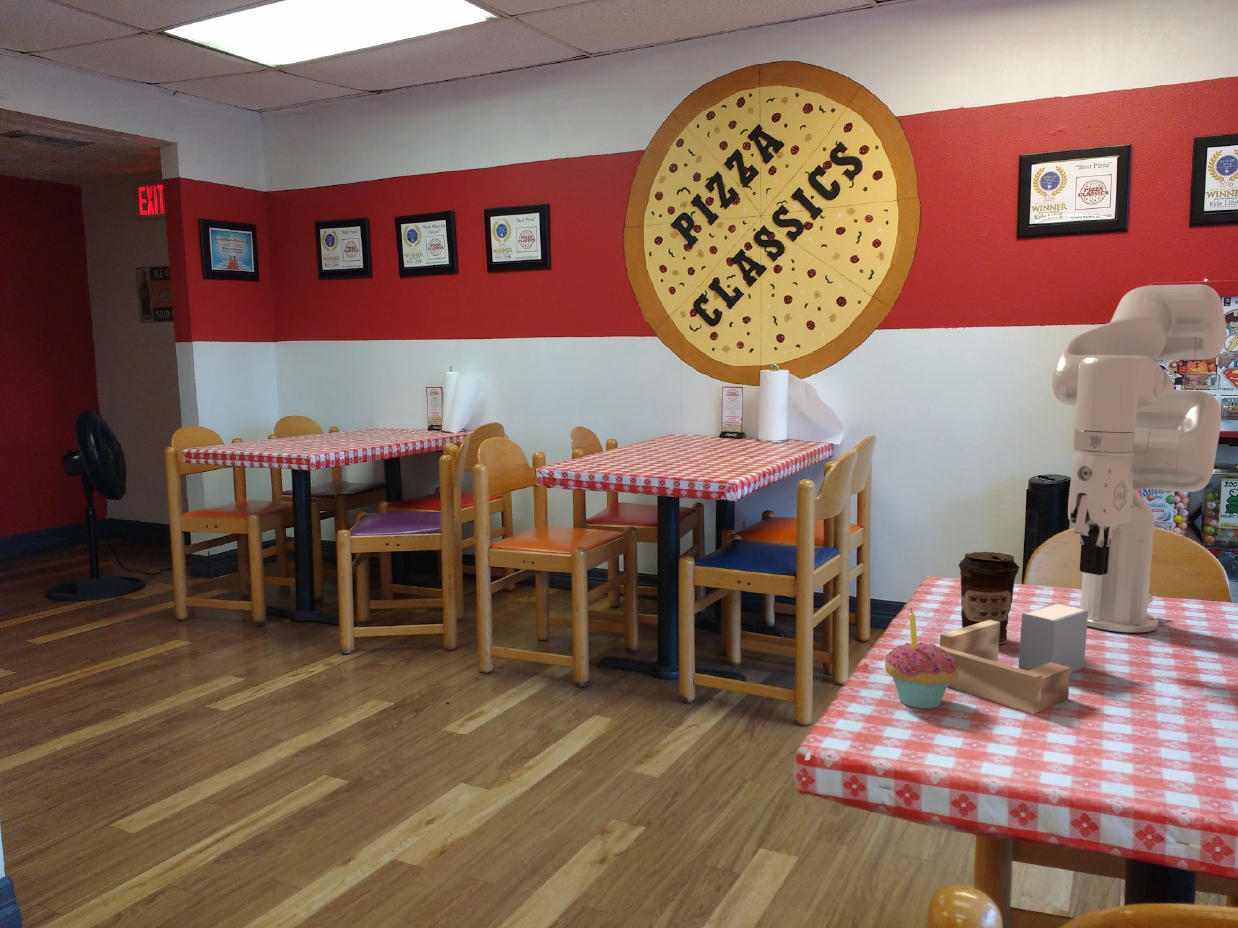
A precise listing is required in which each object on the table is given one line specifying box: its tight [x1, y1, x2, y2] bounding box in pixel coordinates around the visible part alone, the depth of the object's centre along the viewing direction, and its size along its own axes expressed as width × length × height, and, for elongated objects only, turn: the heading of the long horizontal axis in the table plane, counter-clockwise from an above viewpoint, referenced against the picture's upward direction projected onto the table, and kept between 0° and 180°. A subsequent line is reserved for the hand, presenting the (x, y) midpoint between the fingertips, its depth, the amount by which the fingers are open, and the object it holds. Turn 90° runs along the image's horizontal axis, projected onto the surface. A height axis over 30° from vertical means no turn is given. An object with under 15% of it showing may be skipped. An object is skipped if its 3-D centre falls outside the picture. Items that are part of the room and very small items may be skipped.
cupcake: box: [884, 607, 958, 710], centre depth 112 cm, size 9×8×12 cm
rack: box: [937, 620, 1071, 715], centre depth 118 cm, size 14×14×6 cm
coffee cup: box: [958, 551, 1020, 645], centre depth 137 cm, size 9×8×13 cm
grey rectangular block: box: [1018, 603, 1088, 673], centre depth 125 cm, size 9×4×8 cm, turn 127°
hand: (1093, 572), depth 130 cm, fingers closed
